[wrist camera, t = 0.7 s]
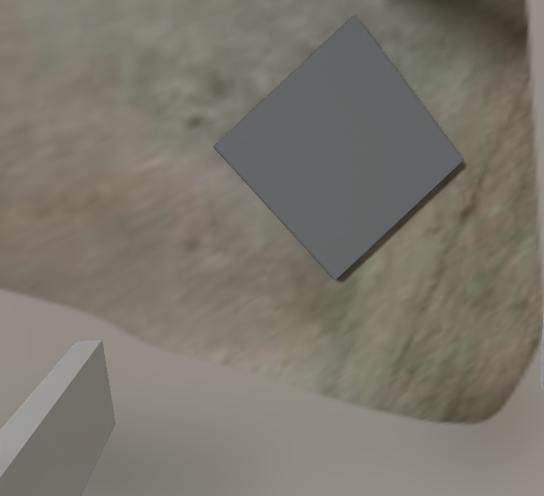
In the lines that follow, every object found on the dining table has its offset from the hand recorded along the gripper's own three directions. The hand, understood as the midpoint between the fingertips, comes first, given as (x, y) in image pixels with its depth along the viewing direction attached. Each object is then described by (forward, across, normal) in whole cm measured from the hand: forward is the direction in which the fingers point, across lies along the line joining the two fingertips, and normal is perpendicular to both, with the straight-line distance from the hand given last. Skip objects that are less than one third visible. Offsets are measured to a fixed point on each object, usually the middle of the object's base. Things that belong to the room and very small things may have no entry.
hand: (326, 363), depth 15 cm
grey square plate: (+20, +4, +5) cm, 21 cm away
